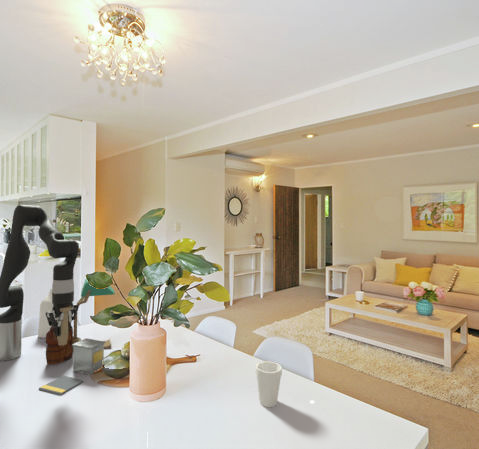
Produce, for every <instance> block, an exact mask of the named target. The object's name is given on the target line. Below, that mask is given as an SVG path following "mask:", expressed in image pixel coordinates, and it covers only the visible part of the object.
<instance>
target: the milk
mask: <svg viewBox="0 0 479 449" xmlns="http://www.w3.org/2000/svg"><path fill="white" fill-rule="evenodd" d="M52 308H53V303H52V288H50V289H49V292H48V294H47V295H46V296H45V297H44V299H43V300H41V302H40V305H39V316H38V317H39V318H38V329H37V330H38V331H37V337H39V338H43V339H46V334H47V332H48V331H50V327H51V326H49V323H48V320H47V317H46V312H50V311H51V310H52ZM57 322H58V321H57Z"/></svg>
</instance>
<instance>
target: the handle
mask: <svg viewBox="0 0 479 449" xmlns="http://www.w3.org/2000/svg"><path fill="white" fill-rule="evenodd" d="M70 310H71V306H66V307H63V308H60V312H64V316H63V320H62V321H61V325H60V326H61V335H60V336H57V339H58V345H59V346H60V345H66V344H67V339H68V311H70ZM58 318H60V317H58Z"/></svg>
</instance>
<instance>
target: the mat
mask: <svg viewBox="0 0 479 449" xmlns="http://www.w3.org/2000/svg"><path fill="white" fill-rule="evenodd" d="M84 382H85V380H84V379H81V378H76V377H72V376H67V375H62V376H59V377H58V378H55V379H53V380H52V381H50V382H47V383H46V384H44V385H42V386H40V387H38V390H39V391H43V392H47V393H51V394H56V395H58V396H61V395H64V394H65V393H67V392H69V391H71V390H72V389H74V388H76V387H77V386H80V384H82V383H84Z"/></svg>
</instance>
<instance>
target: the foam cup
mask: <svg viewBox="0 0 479 449" xmlns="http://www.w3.org/2000/svg"><path fill="white" fill-rule="evenodd" d="M282 369H283V368H282V366H281V364H279V363H277V362H275V361H268V360H267V361H261V362H258V363H256V365H255V374H256V381H257V390H258V391H257V392H258V401H259V404H260V405H261V406H262V407H265V408H273V407H275V406H276V405H277V403H278V397H279V391H280V384H281V379H282V373H283V372H282V371H283V370H282Z"/></svg>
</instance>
